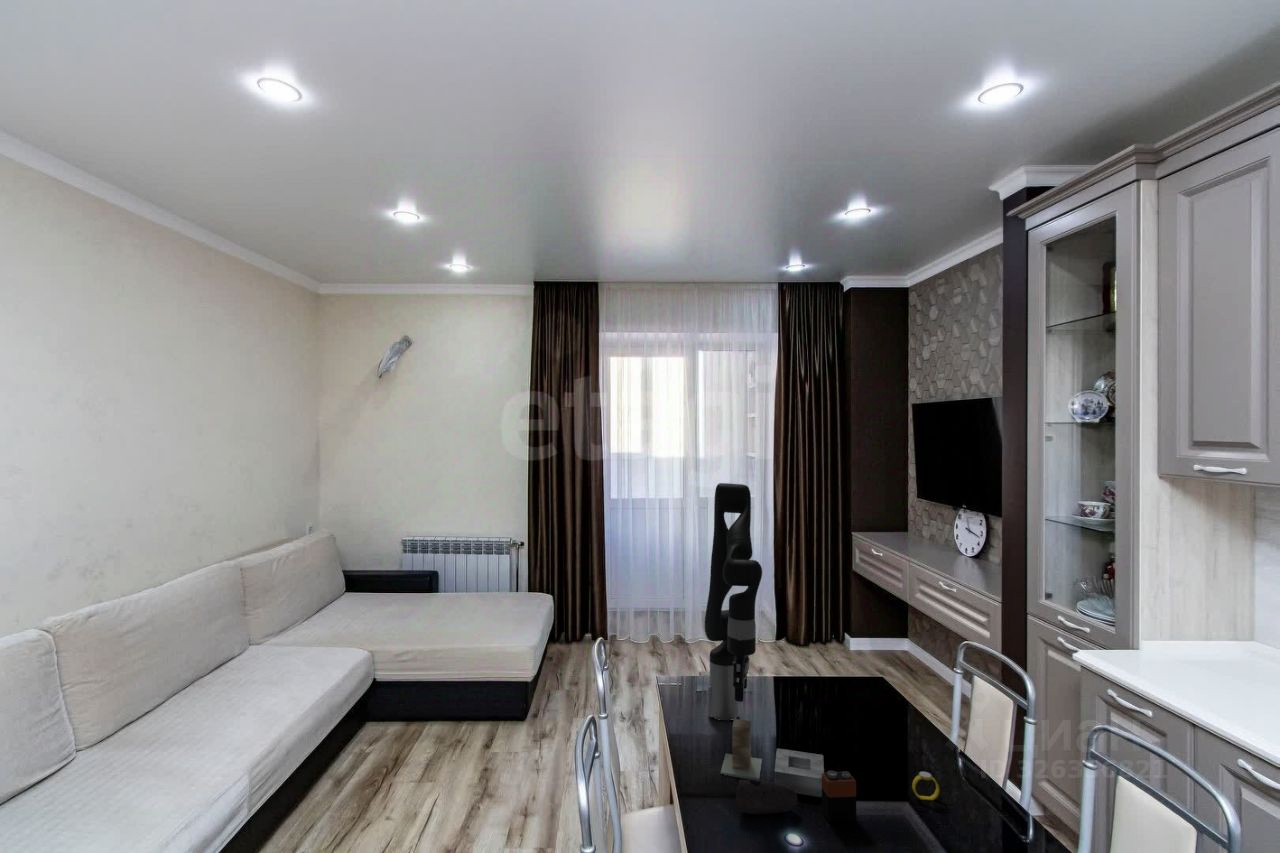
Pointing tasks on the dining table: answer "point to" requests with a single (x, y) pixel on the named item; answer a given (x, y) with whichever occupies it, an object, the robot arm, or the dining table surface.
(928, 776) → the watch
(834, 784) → the battery
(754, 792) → the perforated stone tool
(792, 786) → the post block
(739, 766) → the birch peg
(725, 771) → the sage mat
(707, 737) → the dining table surface
